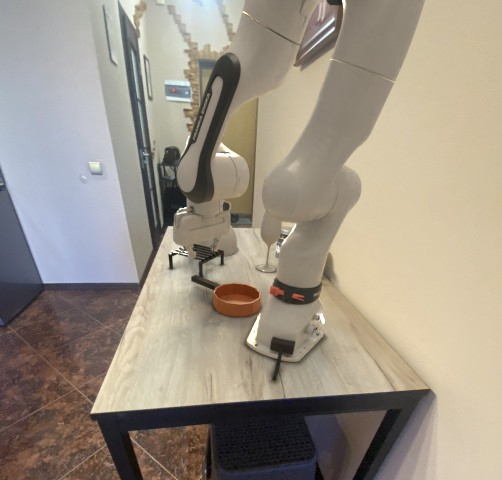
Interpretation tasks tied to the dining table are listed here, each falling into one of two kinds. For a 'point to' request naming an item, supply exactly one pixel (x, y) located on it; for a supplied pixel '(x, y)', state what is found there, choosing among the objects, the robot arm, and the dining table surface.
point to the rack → (195, 249)
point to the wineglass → (269, 237)
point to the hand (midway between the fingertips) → (203, 254)
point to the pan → (232, 297)
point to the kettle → (224, 243)
